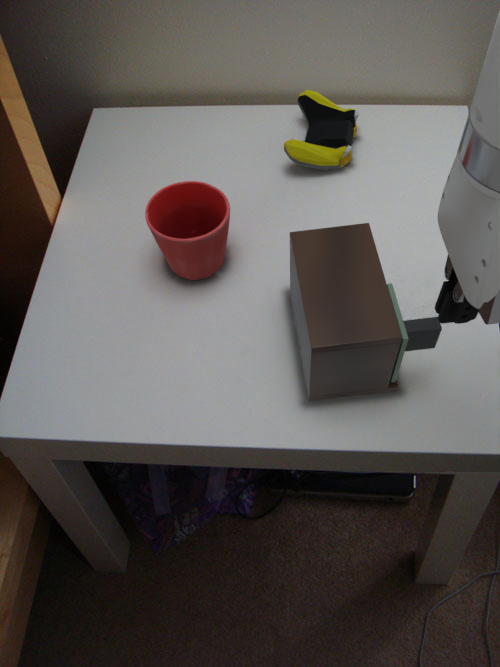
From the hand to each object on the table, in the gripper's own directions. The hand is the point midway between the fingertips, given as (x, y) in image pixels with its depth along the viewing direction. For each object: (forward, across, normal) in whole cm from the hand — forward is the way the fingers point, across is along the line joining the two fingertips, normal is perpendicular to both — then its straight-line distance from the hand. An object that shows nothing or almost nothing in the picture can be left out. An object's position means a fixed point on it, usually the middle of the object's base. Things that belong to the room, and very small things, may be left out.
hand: (454, 314), depth 52 cm
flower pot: (+20, +27, +24) cm, 41 cm away
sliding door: (+19, +7, 0) cm, 20 cm away
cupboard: (+20, +11, +7) cm, 24 cm away
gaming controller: (+20, +47, +3) cm, 51 cm away
